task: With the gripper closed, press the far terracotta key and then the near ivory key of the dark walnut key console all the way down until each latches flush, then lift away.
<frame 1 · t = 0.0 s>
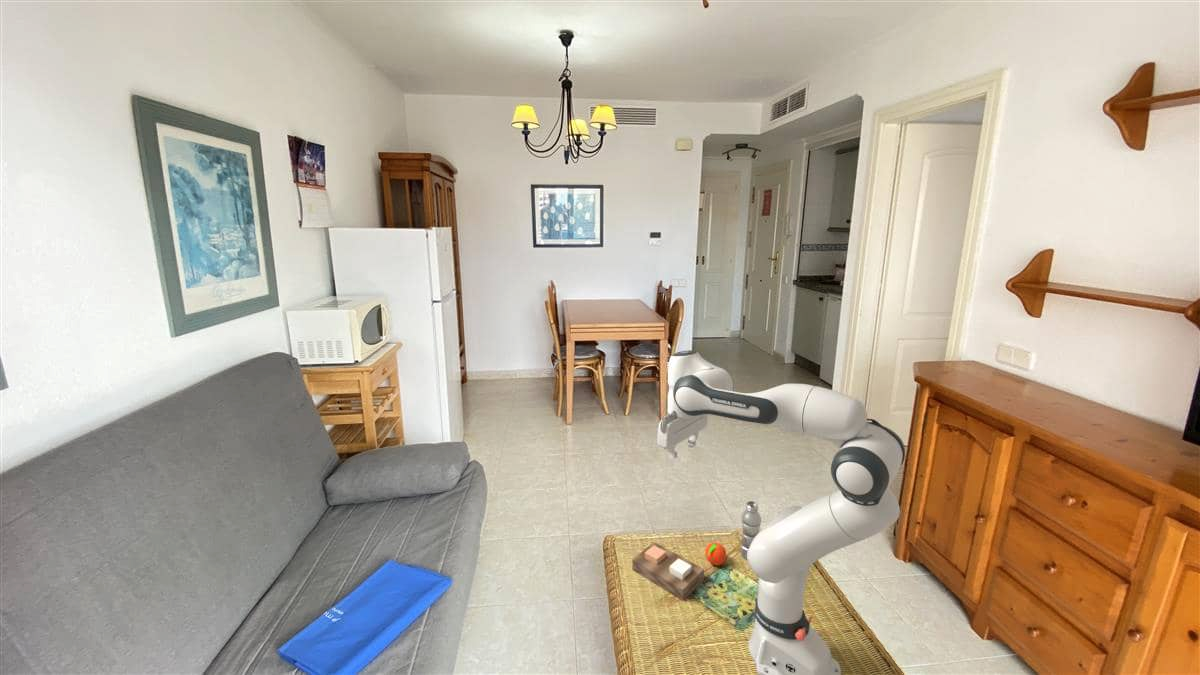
hand: (682, 451, 137), 48 cm above the table, tool pointing down, fingers open, 8 cm apart
plastic bottle: (749, 556, 164), on the table
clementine: (714, 563, 161), on the table
key terracotta: (655, 555, 159), point 5 cm above the table, slide at 0.0 cm
key ivory: (680, 569, 152), point 5 cm above the table, slide at 0.0 cm
key console: (667, 574, 156), on the table
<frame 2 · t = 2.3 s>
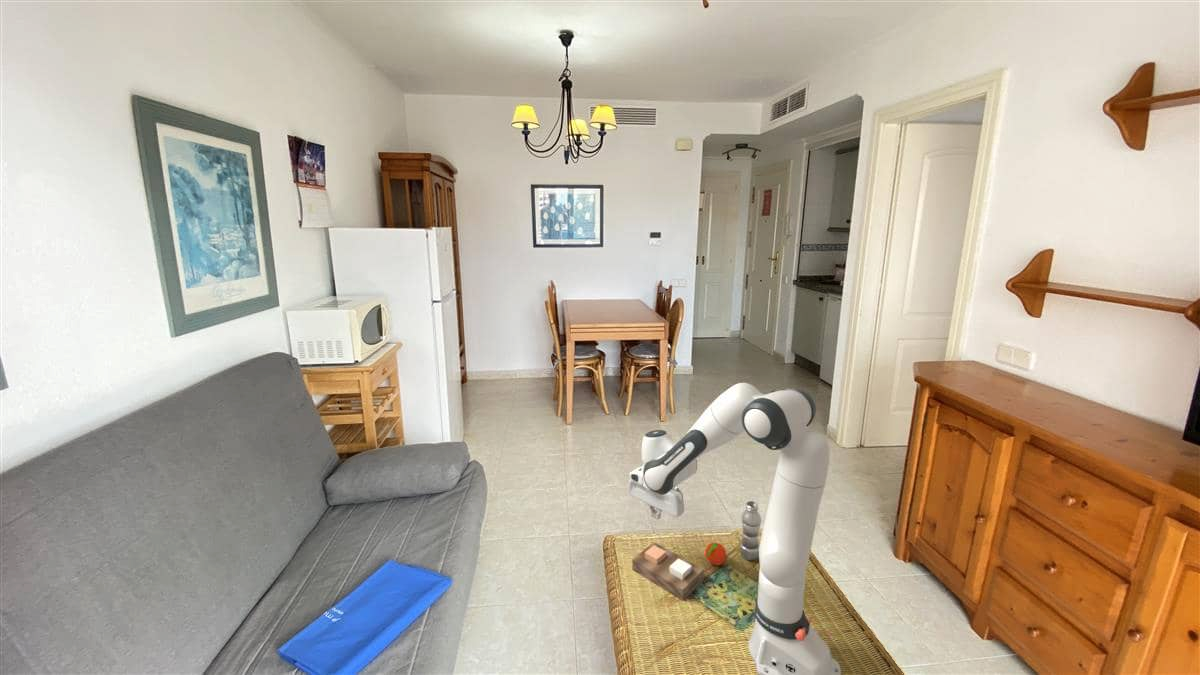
hand: (655, 517, 155), 19 cm above the table, tool pointing down, fingers closed
nothing on the table moved.
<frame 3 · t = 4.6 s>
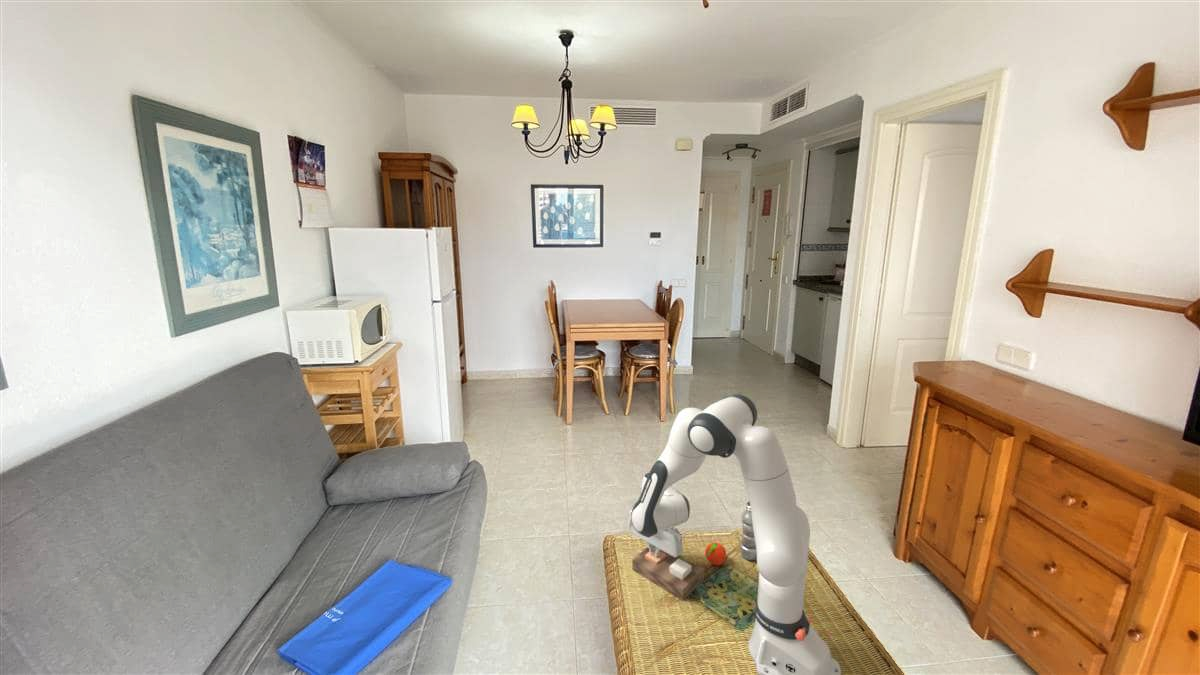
hand: (654, 554, 159), 5 cm above the table, tool pointing down, fingers closed, pressing on key terracotta
key terracotta: (655, 558, 159), point 4 cm above the table, slide at 1.1 cm, touching gripper
everything else where it was.
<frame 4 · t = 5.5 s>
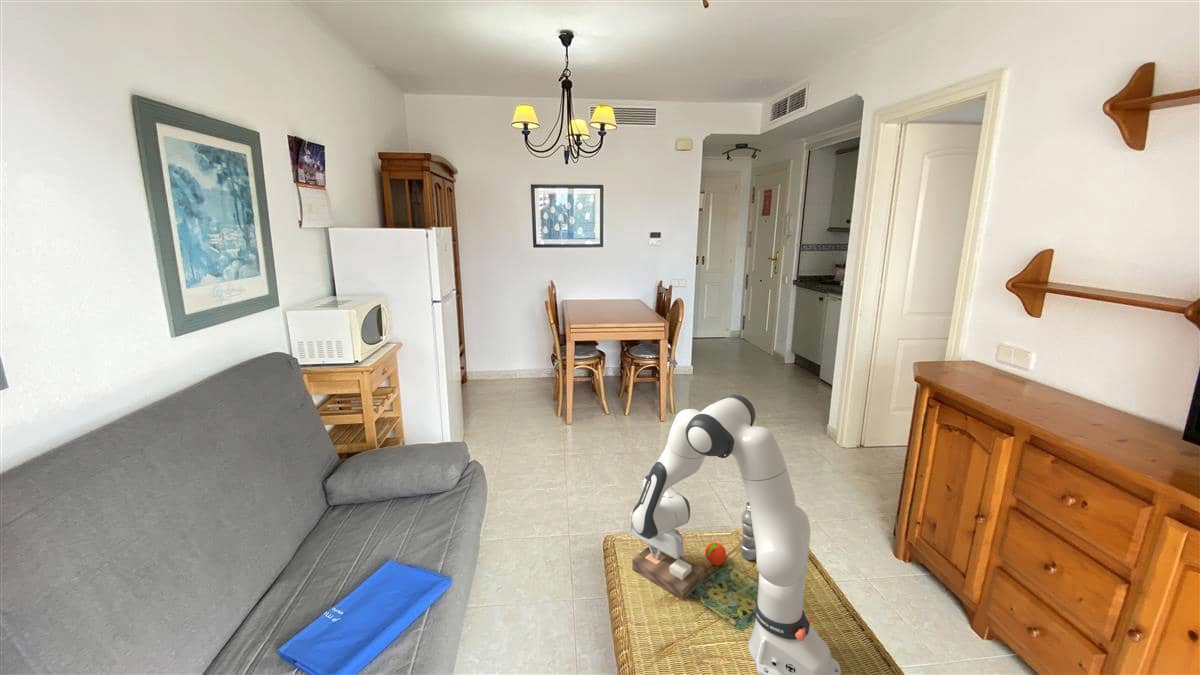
hand: (655, 556, 159), 4 cm above the table, tool pointing down, fingers closed
key terracotta: (655, 560, 159), point 3 cm above the table, slide at 2.0 cm
everything else where it was.
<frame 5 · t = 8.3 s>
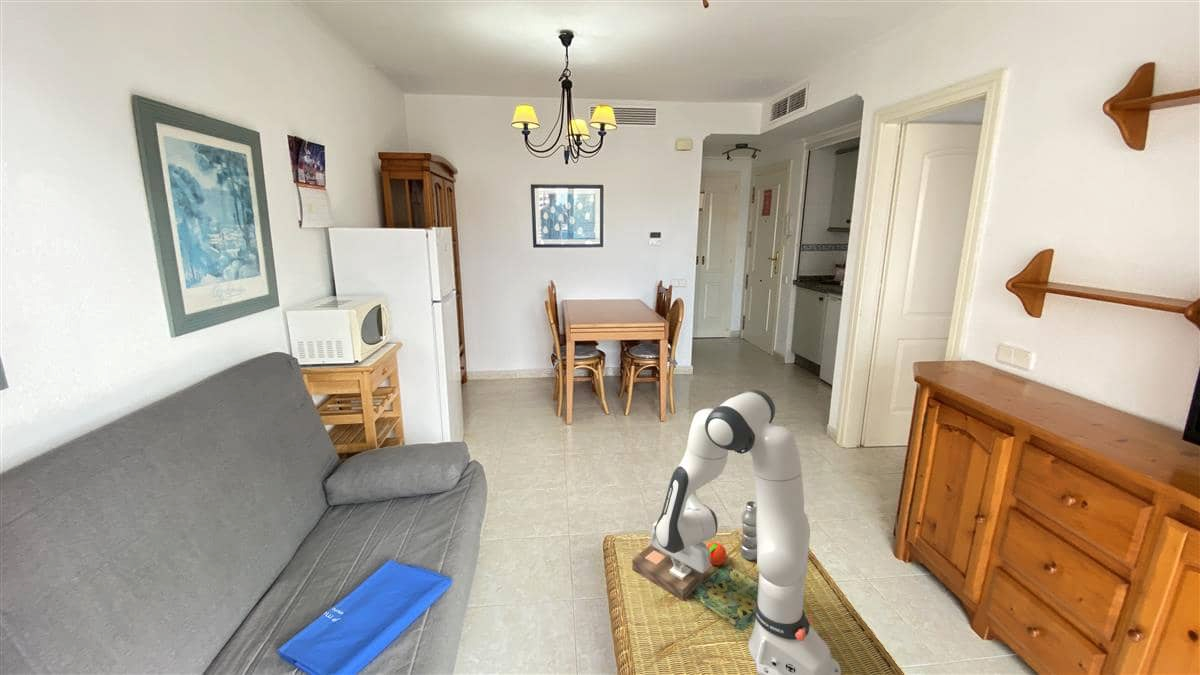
hand: (679, 569, 152), 5 cm above the table, tool pointing down, fingers closed
key ivory: (680, 573, 152), point 3 cm above the table, slide at 1.4 cm, touching gripper
everything else where it was.
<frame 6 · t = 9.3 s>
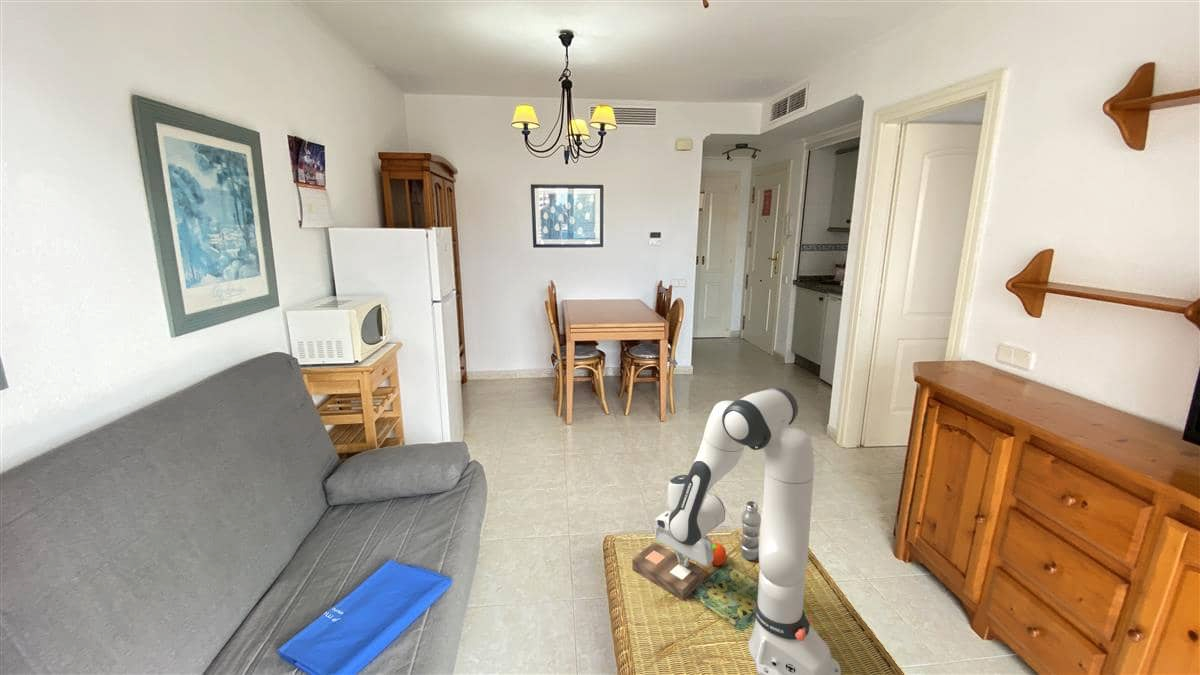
hand: (683, 564, 151), 7 cm above the table, tool pointing down, fingers closed
key ivory: (680, 575, 152), point 3 cm above the table, slide at 2.0 cm
everything else where it was.
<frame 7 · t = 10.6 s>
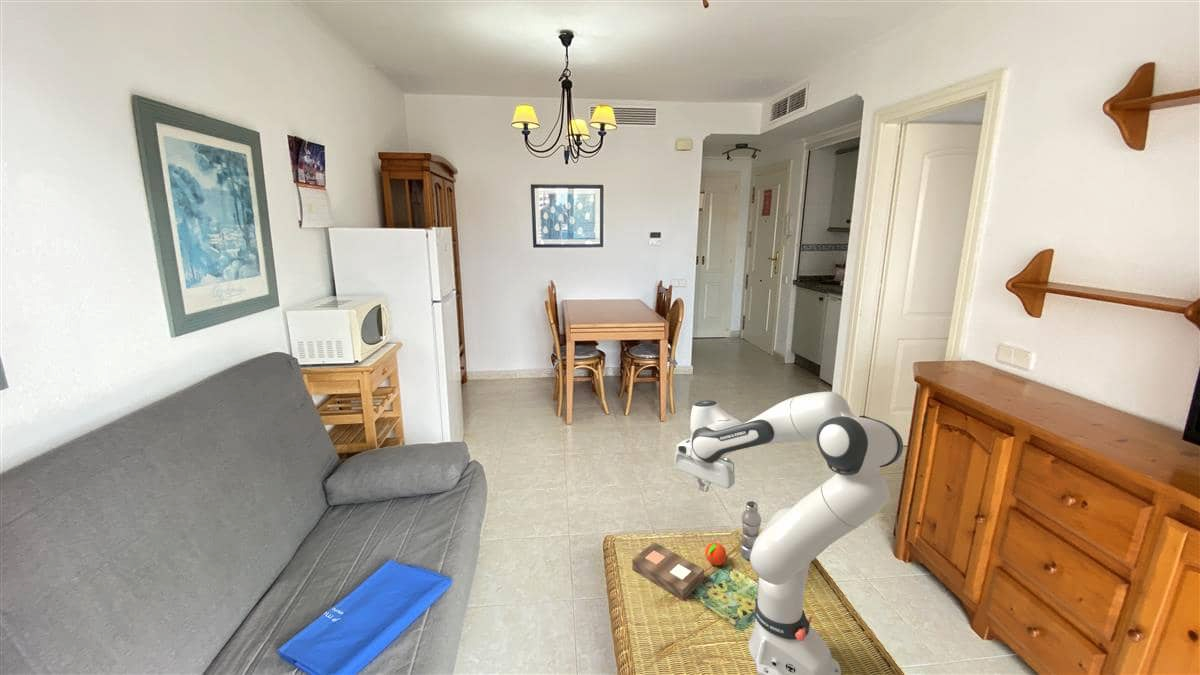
hand: (703, 490, 152), 29 cm above the table, tool pointing down, fingers closed
nothing on the table moved.
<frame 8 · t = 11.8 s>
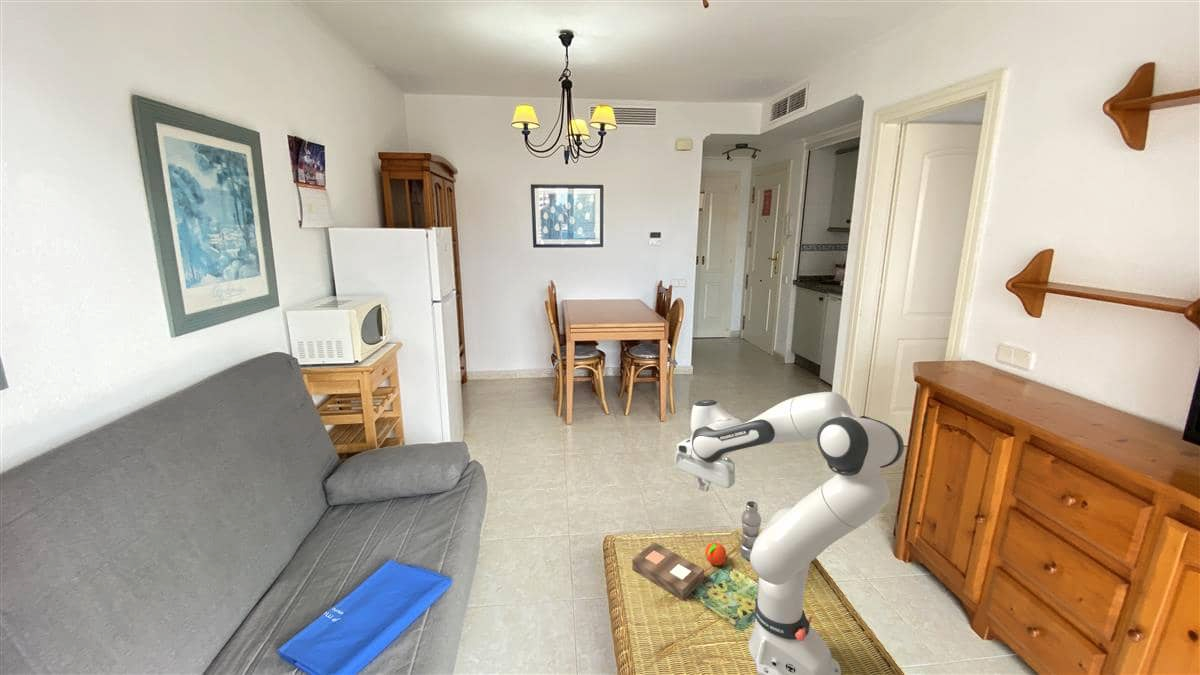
hand: (703, 489, 152), 29 cm above the table, tool pointing down, fingers closed
nothing on the table moved.
at the end: key terracotta slide at 2.0 cm; key ivory slide at 2.0 cm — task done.
